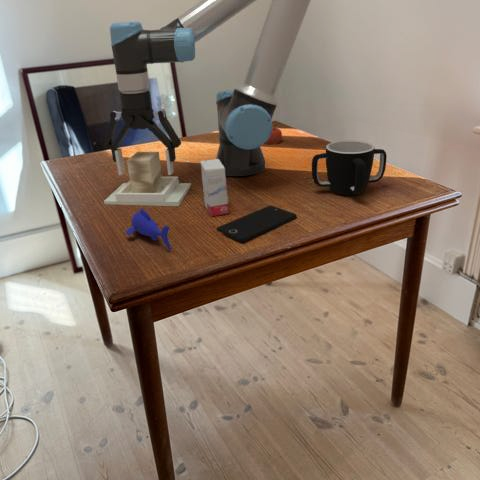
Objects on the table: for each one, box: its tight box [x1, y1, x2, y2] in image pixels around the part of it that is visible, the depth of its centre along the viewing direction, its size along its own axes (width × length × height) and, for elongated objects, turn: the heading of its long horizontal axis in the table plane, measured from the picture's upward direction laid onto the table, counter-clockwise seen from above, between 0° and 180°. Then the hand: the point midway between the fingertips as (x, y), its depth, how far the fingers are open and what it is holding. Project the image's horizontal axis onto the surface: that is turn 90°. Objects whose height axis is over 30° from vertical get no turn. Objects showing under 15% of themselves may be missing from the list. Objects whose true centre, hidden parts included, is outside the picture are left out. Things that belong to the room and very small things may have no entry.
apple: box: [265, 124, 283, 145], centre depth 167 cm, size 7×7×8 cm
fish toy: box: [125, 208, 172, 251], centre depth 104 cm, size 15×8×7 cm, turn 41°
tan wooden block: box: [126, 151, 163, 193], centre depth 127 cm, size 6×8×10 cm
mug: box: [311, 140, 387, 196], centre depth 124 cm, size 16×16×12 cm
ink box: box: [200, 158, 230, 217], centre depth 117 cm, size 9×5×12 cm, turn 13°
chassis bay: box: [103, 176, 192, 207], centre depth 129 cm, size 20×14×4 cm
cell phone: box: [216, 205, 297, 243], centre depth 111 cm, size 9×18×1 cm, turn 133°
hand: (146, 173), depth 127 cm, fingers open, 13 cm apart
